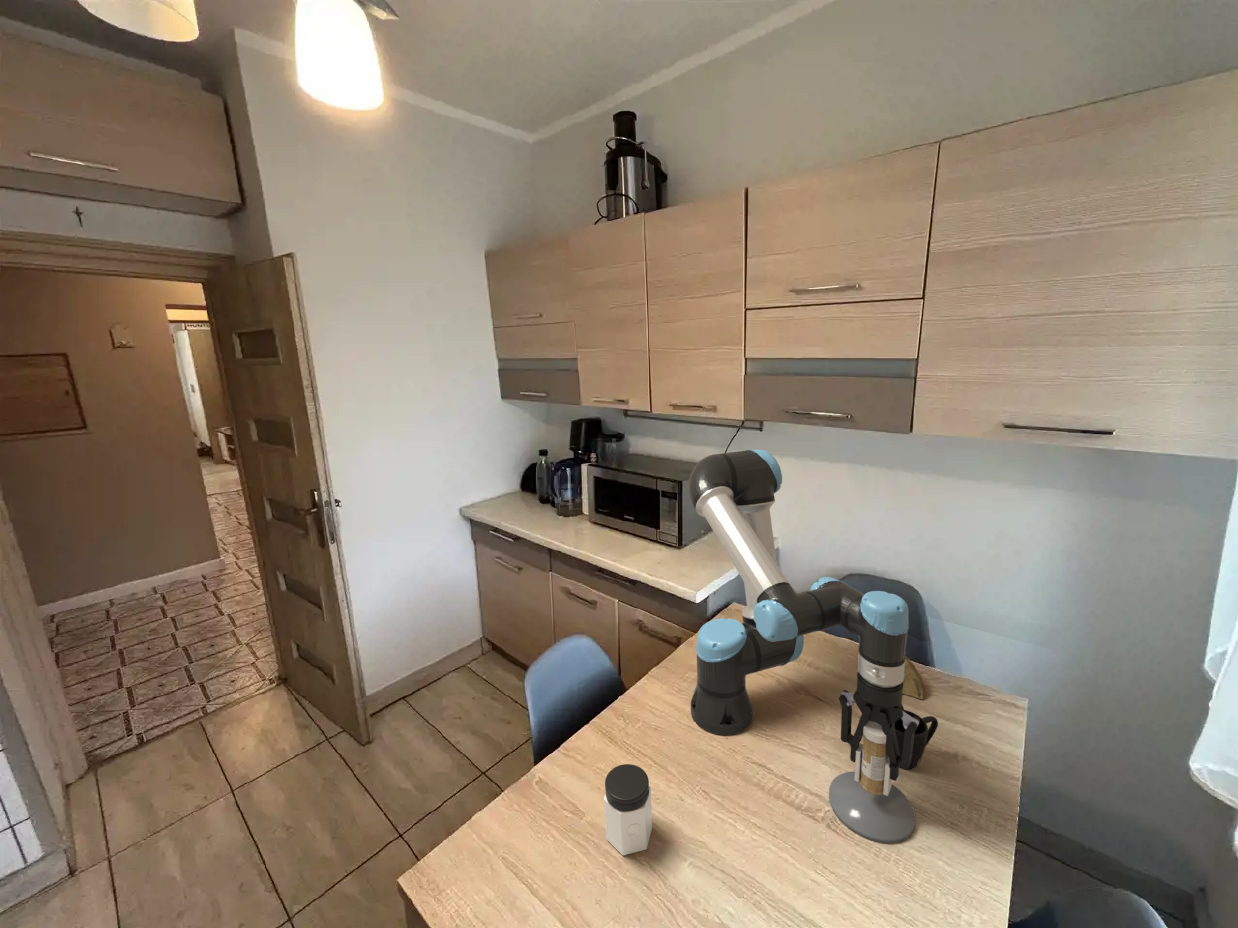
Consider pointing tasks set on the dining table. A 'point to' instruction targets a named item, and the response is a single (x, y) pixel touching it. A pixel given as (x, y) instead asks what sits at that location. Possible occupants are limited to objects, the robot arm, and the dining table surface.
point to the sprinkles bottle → (873, 758)
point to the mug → (916, 736)
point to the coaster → (871, 810)
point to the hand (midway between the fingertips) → (872, 782)
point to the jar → (628, 808)
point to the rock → (912, 681)
